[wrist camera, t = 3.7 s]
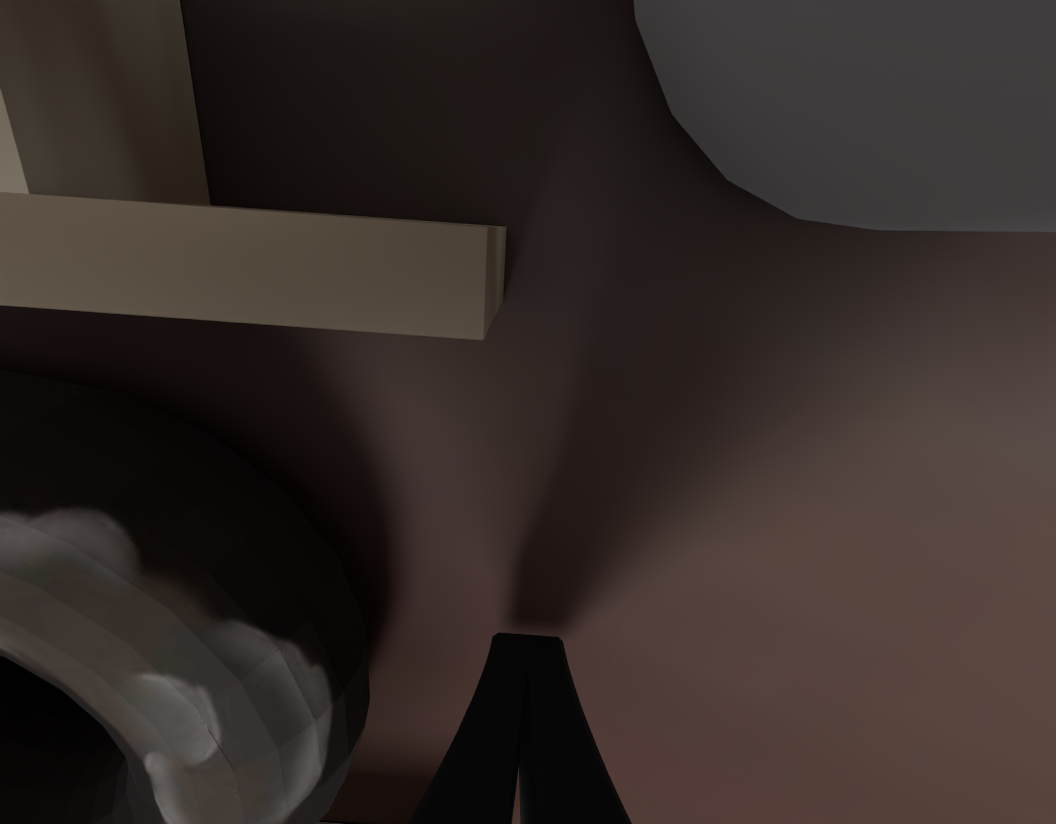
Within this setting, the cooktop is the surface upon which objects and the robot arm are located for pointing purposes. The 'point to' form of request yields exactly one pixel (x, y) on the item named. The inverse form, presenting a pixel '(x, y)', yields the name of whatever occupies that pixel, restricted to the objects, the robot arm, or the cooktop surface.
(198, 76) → the cooktop surface
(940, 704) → the cooktop surface
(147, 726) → the donut
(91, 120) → the beige square zigzag bar
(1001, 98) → the can
